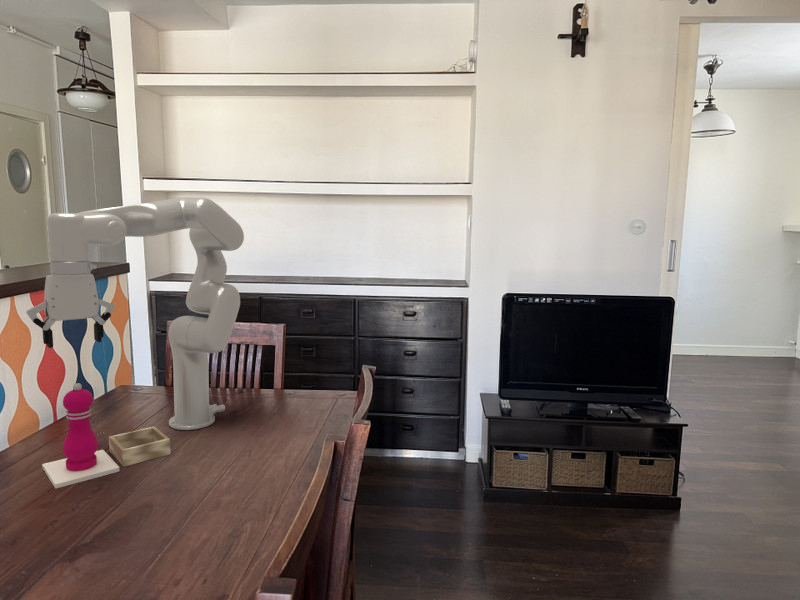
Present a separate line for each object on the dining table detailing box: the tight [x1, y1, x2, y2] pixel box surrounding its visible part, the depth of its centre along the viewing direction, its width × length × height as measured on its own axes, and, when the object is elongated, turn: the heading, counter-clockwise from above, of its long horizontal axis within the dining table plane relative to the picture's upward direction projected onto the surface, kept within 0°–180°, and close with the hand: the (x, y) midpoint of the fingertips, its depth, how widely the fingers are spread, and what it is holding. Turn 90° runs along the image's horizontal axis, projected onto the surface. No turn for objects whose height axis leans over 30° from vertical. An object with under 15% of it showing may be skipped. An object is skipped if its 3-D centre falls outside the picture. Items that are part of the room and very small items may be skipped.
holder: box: [108, 426, 171, 467], centre depth 136 cm, size 11×11×4 cm
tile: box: [41, 449, 120, 490], centre depth 126 cm, size 13×13×1 cm
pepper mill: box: [62, 382, 99, 471], centre depth 125 cm, size 7×7×20 cm
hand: (74, 343), depth 122 cm, fingers open, 9 cm apart
